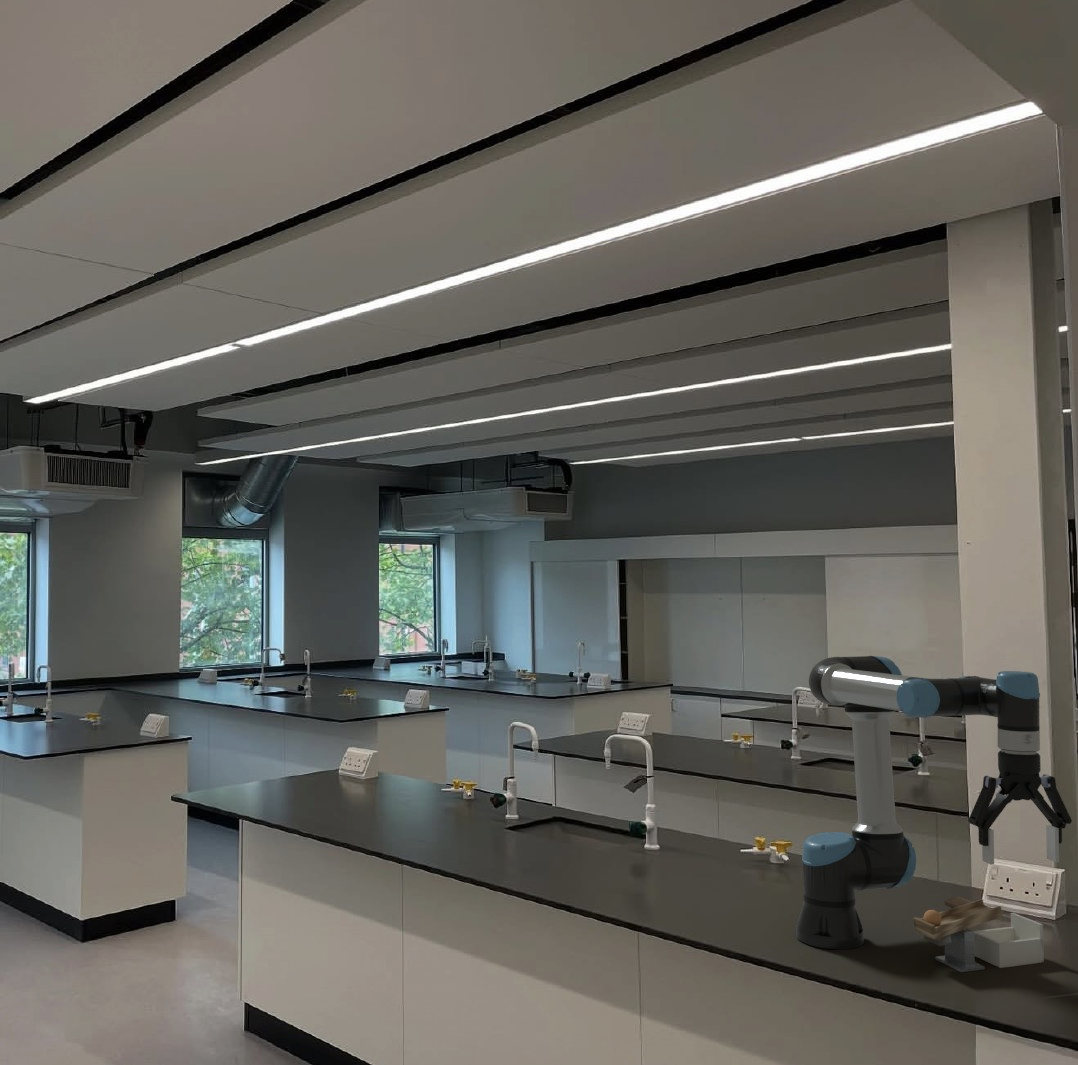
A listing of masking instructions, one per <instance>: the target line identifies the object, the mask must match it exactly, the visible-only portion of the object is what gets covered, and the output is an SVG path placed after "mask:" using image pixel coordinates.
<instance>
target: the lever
mask: <svg viewBox="0 0 1078 1065" xmlns="http://www.w3.org/2000/svg"><path fill="white" fill-rule="evenodd" d="M943 903H944V906H946V907H949V909H946V910H943V911H940V912H938V913H939V914H940V916H941V924H940V925H939V926H937V927H935V925H933V924H931V923H929V922H927V921H924V919H923V917H921V918H920V917H917V916H915V917H913V924H914V929H915V932H917V933H919V934H921V935H923V939H924V940H926V941H928V942H930V943H932V944H934V945H936V946H938V947H942V946H945V944H948V943H951V936H950V934H952V933H955V932H958V931H961V930H964V929H967V928H968V929H971V928H973V927H977V926H978V925H982V924H985V923H988V922H991V921H995V920H997V919H1001V918H1003V917H1004V916H1003V912H1002V911H1003V910H1002V906H1000V905H998V906H995V907H990V906H987V905H985V904H984V899H982V898H980V899H977V900H973V901H971V900H969V899H966V898H964V897H962V896H959V895H957V896H955V897H954V896H953V897H952V898H951V897H950V898H948V899H945V900H944V901H943Z"/></svg>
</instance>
